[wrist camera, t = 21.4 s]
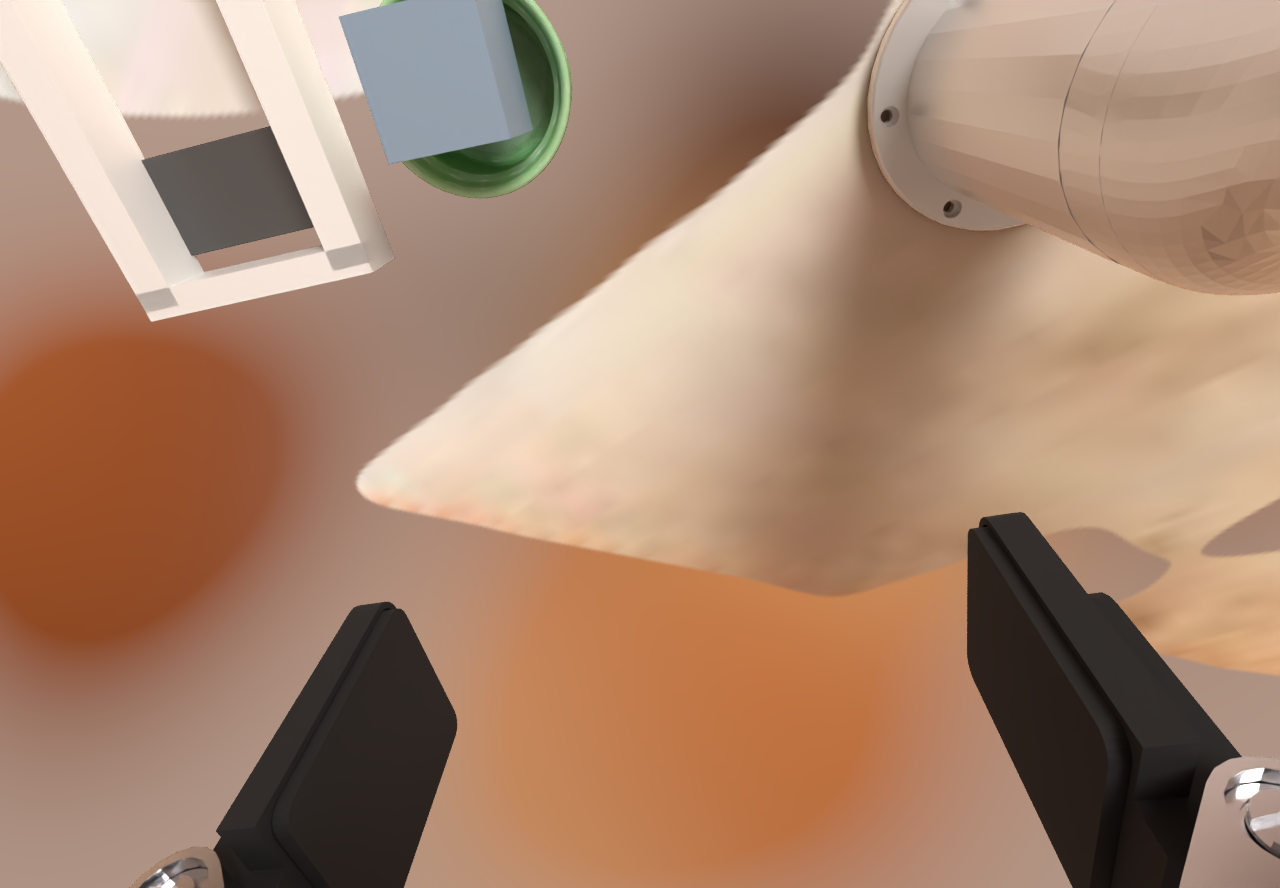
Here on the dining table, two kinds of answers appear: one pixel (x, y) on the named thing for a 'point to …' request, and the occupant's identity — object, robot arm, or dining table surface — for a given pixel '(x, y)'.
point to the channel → (204, 164)
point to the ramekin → (549, 111)
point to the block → (438, 75)
